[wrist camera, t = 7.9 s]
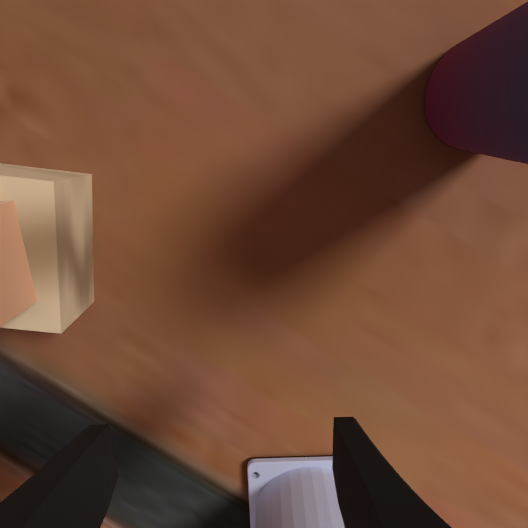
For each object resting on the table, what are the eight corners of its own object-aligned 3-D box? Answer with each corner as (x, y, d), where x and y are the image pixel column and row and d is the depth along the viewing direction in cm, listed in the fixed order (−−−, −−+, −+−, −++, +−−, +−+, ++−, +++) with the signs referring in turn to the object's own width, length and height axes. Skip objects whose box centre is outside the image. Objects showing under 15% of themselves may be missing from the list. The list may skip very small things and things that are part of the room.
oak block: (96, 299, 22) (61, 333, 18) (-31, 286, 21) (-95, 318, 18) (93, 173, 20) (53, 181, 16) (-48, 157, 19) (-123, 161, 16)
